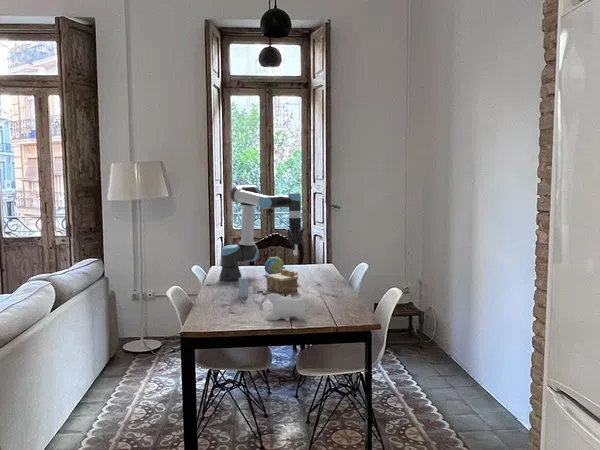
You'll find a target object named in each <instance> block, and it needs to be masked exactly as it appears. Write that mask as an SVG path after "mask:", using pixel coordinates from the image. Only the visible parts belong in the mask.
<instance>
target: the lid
mask: <svg viewBox="0 0 600 450" xmlns="http://www.w3.org/2000/svg"><path fill="white" fill-rule="evenodd" d="M294 271H295V270H291V269H286V268H285V269H281V273H278V274H266V275H265V277H266V278H267V277H268V278H272V279H275V280H279V281H285V280H292V279H297V280H298V279H299V276H298V277H297V276H294Z"/></svg>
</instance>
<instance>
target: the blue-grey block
mask: <svg viewBox="0 0 600 450" xmlns="http://www.w3.org/2000/svg"><path fill="white" fill-rule="evenodd" d="M238 296H239V298H249V278H248V277H245V276H243V277H242V276H241V278H239V280H238Z"/></svg>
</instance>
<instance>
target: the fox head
mask: <svg viewBox="0 0 600 450" xmlns="http://www.w3.org/2000/svg"><path fill="white" fill-rule="evenodd" d="M291 294H292V293H291ZM291 294H290V293H289V294H288V295H287V296H283V295H282V294H279V293H269V294H267V295H266V298H267V299H268V300H269V301H270V303H271V304H272V309H271V310H270V311H269V313H268V314H266V316H265V317H264V320H266V321H278V320H285V321H287V322H289V321H290V319H291V318H299V319H303V318H304V317H305V314H306V313H305V312H306V301H305V298H303V297H302V298H301V297H300V298H292V295H291Z"/></svg>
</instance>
